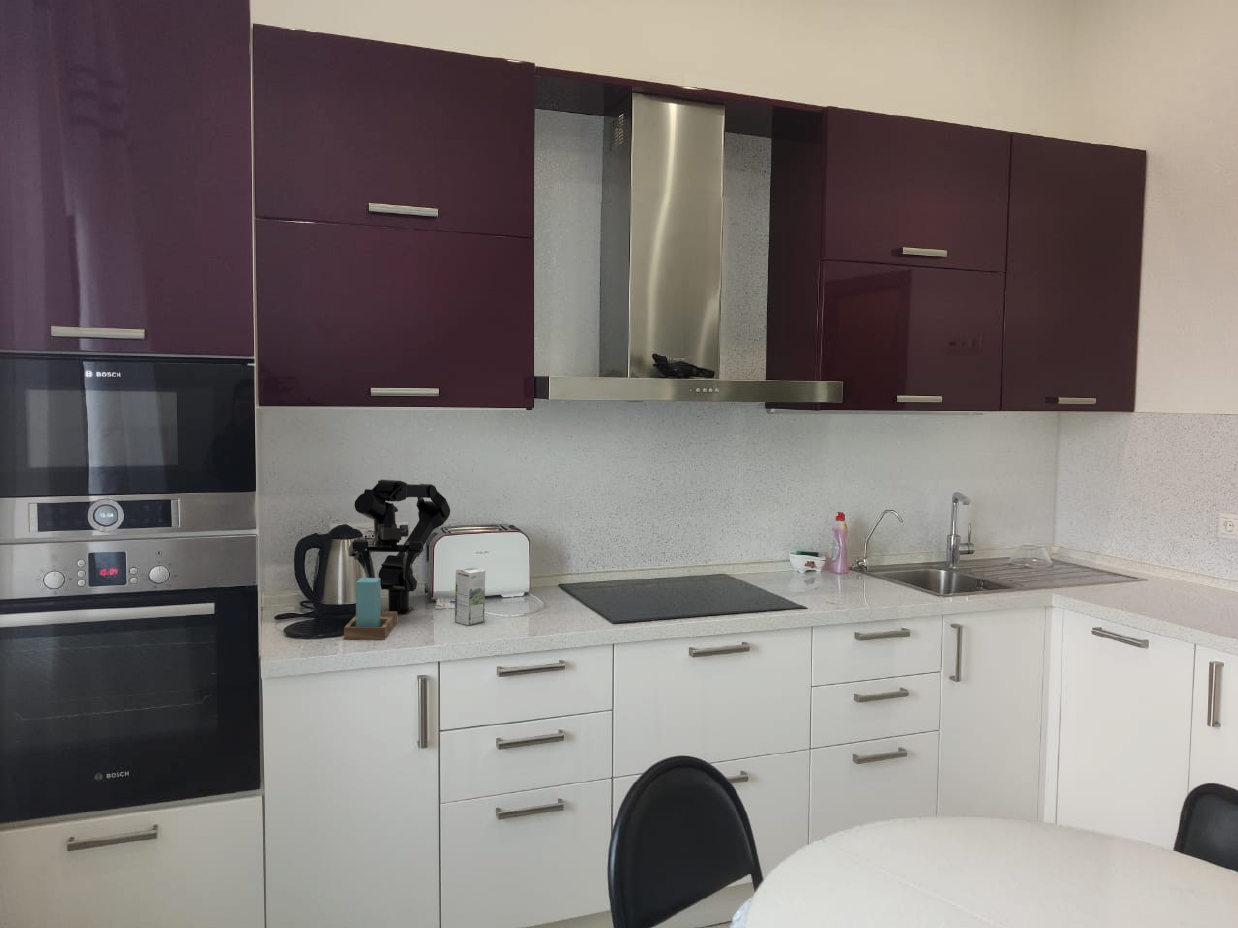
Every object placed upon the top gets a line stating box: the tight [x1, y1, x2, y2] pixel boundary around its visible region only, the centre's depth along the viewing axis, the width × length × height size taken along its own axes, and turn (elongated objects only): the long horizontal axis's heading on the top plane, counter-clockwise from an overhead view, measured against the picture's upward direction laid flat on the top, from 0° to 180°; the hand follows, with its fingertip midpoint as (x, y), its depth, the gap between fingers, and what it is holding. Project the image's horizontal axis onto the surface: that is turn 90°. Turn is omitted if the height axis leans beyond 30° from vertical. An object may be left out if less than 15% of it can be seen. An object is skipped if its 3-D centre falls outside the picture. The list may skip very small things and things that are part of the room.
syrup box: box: [454, 566, 486, 626], centre depth 249 cm, size 6×6×14 cm
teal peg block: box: [355, 577, 381, 627], centre depth 235 cm, size 5×5×14 cm
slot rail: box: [343, 610, 398, 641], centre depth 239 cm, size 17×10×3 cm, turn 3°
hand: (387, 579), depth 244 cm, fingers open, 9 cm apart
